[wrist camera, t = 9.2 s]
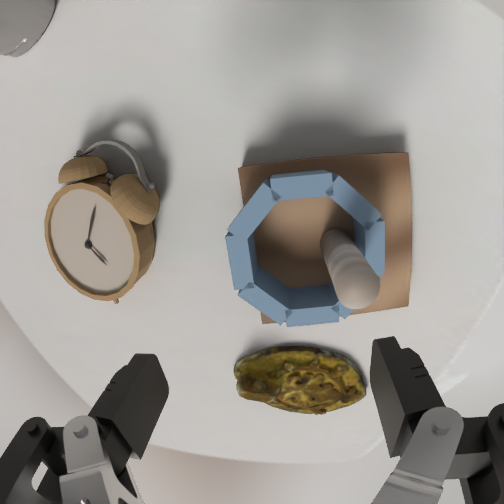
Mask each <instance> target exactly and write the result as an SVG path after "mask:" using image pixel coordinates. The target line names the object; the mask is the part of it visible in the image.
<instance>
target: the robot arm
mask: <svg viewBox="0 0 504 504" xmlns="http://www.w3.org/2000/svg"><path fill="white" fill-rule="evenodd" d="M54 8H55V0H0V55H6V56H12V57H17V56H20V55H22V54H24V53H25V52H27V51H28V50H29V49H30V48H31V47H32V46H33V45H34V44H35V43H36V42H37V41H38V39H39V38H40V37H41V35H42V34H43V32H44V31H45V29H46V27H47V26H48V24H49V22H50V20H51V17H52V15H53V11H54ZM370 383H371V388H372V392H373V395H374V399H375V402H376V406H377V409H378V413H379V416H380V420H381V424H382V427H383V431H384V435H385V439H386V443H387V447H388V450H389V455H390V458H392V457H395V456H400V458H401V459H400V460H399V462H398V464H397V466H396V468H395V469H394V471H393V472H392V473H391V474H390V476H389V477H388V479H387V480H386V482H385V483H384V485H383V486H382V488H381V490H380V491H379V493H378V494H377V496H376V497H375V499H374V500H373V502H372V503H371V504H437V503H438V501H439V498H440V496H441V494H442V491H443V487H442V485H443V482H444V480H445V479H460V483H461V487H462V491H463V495H464V499H465V504H504V403H503V404H499V405H497V406H495V407H494V408H493V409H492V410H491V412H490V413H489V415H488V416H487V417H475V418H464V417H461V415H460V414H459V413H458V412H457V411H455V410H454V409H451V408H448V407H446V406H445V405H444V403H443V400H442V398H441V396H440V394H439V392H438V390H437V388H436V386H435V384H434V382H433V381H432V379H431V377H430V376H429V373H428V371H427V369H426V367H424V363H423V362H422V360H421V358H420V356H419V355H418V354H417V353H415V352H414V351H413V350H412V349H410V348H404V349H401V348H400V346H399V344H398V342H397V340H396V338H395V337H394V336H392V337H387V338H381V339H375V340H374V341H373V345H372V356H371V366H370ZM168 394H169V387H168V382H167V380H166V378H165V375H164V373H163V370H162V368H161V365H160V363H159V361H158V358H157V356H156V355H155V354H135V355H134V356H133V358H132V359H131V361H130V362H129V364H128V365H125V366H124V367H123V368H121V369H120V370H119V371H118V372H116V373H115V375H114V376H113V378H112V379H111V381H110V384H108V385H107V387H106V388H105V391H103V393H102V394H101V396H100V397H99V399H98V400H97V402H96V403H95V405H94V406H93V408H92V410H91V411H90V413H89V414H88V416H78V417H75V418H74V419H72V420H70V421H69V422H68V423H67V424H66V426H65V427H50V426H49V425H48V423H47V422H46V420H45V419H43V418H41V417H33V418H31V419H29V420H27V421H26V422H25V423H24V424H23V425H22V426H21V428H20V429H19V431H18V432H17V434H16V435H15V437H14V438H13V440H12V441H11V443H10V444H9V446H8V447H7V449H6V450H5V452H4V453H3V455H2V456H1V458H0V504H144V502H143V500H142V498H141V495H140V493H139V490H138V488H137V485H136V483H135V480H134V478H133V475H132V472H131V469H130V467H129V465H128V464H127V461H128V459H129V457H130V458H135V459H141V458H142V456H143V453H144V451H145V449H146V446H147V444H148V442H149V439H150V437H151V435H152V432H153V430H154V428H155V425H156V423H157V421H158V419H159V416H160V414H161V412H162V409H163V407H164V405H165V403H166V400H167V398H168ZM41 461H42V462H43V463H44V464H45V465H46V466H47V467H48V470H47V472H46V474H45V475H44V478H43V480H42V481H41V483H40V485H39V487H38V489H37V491H35V490H34V489H33V487H32V484H31V480H32V477H33V475H34V474H35V472H36V470H37V468H38V466H39V465H40V463H41Z"/></svg>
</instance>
